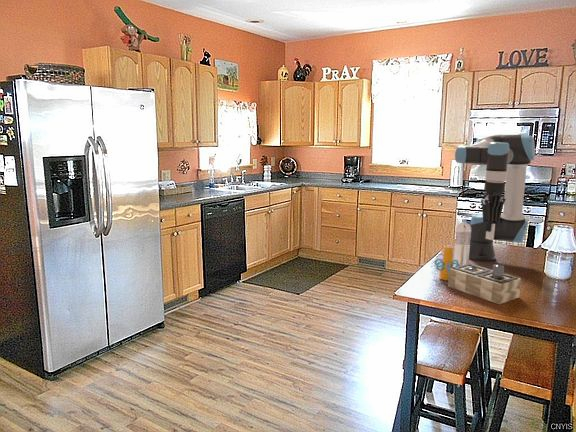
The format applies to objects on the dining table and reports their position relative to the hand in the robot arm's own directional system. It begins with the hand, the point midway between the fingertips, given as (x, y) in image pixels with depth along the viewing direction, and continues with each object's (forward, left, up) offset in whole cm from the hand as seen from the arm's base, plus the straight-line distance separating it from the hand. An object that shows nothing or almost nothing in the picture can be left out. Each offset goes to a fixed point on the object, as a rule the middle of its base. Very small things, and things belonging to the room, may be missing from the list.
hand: (489, 239), depth 185 cm
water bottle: (-19, -25, -23) cm, 39 cm away
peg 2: (-1, +5, -18) cm, 19 cm away
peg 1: (-1, -7, -23) cm, 24 cm away
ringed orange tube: (-2, -20, -23) cm, 31 cm away
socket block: (-1, -1, -23) cm, 23 cm away
